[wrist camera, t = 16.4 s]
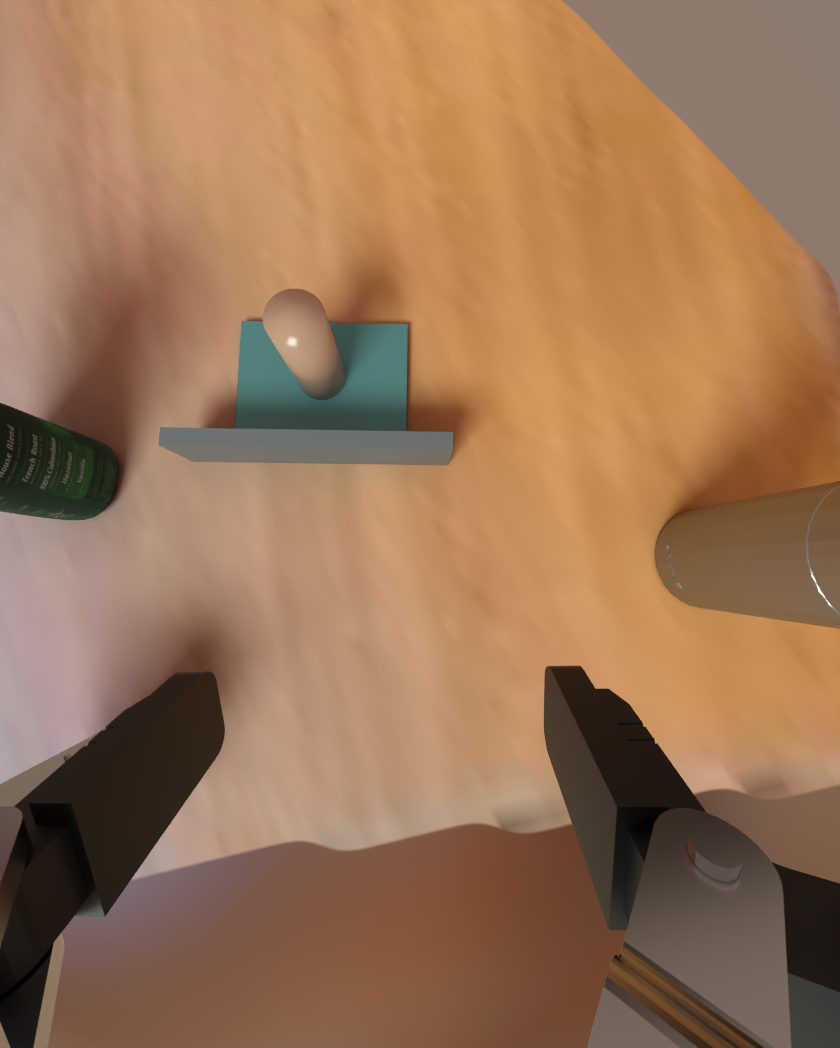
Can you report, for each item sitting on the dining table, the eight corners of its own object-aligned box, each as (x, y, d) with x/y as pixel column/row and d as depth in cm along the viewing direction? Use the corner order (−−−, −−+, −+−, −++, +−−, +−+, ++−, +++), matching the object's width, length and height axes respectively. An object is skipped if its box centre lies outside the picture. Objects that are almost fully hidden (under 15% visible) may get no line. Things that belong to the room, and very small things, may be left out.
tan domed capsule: (342, 352, 37) (321, 284, 29) (349, 396, 37) (329, 342, 28) (295, 358, 37) (259, 293, 28) (301, 403, 37) (266, 351, 28)
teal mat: (407, 327, 38) (407, 324, 38) (406, 436, 37) (406, 434, 37) (244, 324, 38) (241, 320, 38) (237, 433, 37) (234, 431, 36)
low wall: (447, 449, 37) (453, 431, 32) (448, 465, 37) (453, 449, 32) (194, 445, 37) (159, 427, 32) (193, 461, 37) (158, 445, 32)
